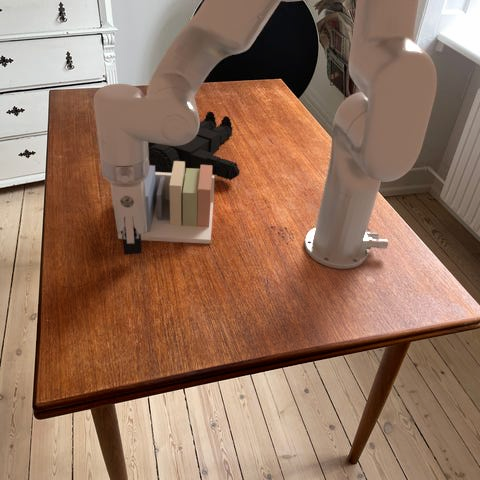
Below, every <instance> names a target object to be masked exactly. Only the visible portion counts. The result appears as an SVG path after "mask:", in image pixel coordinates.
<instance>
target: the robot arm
mask: <svg viewBox="0 0 480 480" xmlns="http://www.w3.org/2000/svg"><path fill="white" fill-rule="evenodd" d="M299 1H302V0H204V1H203V2H202V3H201V5H200V7H199V8H198V10H197V11H196V13H195V14H194V16H192V17H191V19H190V20H189V21H188V22H187V24H186V25H185V26H184V28H182V30H181V31H180V32H179V33H178V35H176V37H175V38H174V40H173V41H172V42H171V44H170V45H169V47H168V49H167V50H166V51H165V54H164V56H163V57H162V59H161V60H160V62H159V64H158V66H157V68H156V69H155V70H154V73H153V74H152V76H151V78H150V80H149V83H148V85H147V89H146V95H145V94H144V92H143V91H142V89H140V88H138V87H136V86H134V85H132V84H128V83H127V84H126V83H112V84H107V85H104V86H101V87H100V88H98V90H97V91H96V92H95V93H94V96H93V110H94V118H95V124H96V135H97V142H98V149H99V150H98V151H99V156H100V157H99V158H100V159H99V161H100V167H101V175H102V177H103V179H104V180H106V181H107V182H109V183H110V187H111V199H112V206H113V210H114V211H113V212H114V220H115V226H116V230H117V235H118V234H120V235H121V234H122V239H121V240H122V241H121V242H122V248H123V254H124V255H127V256H128V255H140V254H142V253H143V252H142V250H143V248H142V246H143V245H142V240H141V234H145V233H146V232H147V216H146V196H145V182H144V179H146V178H147V177H148V175H149V173H150V168H149V148H148V142H151V143H157V144H163V145H170V146H179V145H184V144H187V143H189V142H190V141H192V140H193V139H194V138H195V137H196V135H197V133H198V131H199V126H200V122H201V121H200V115H199V111H198V107H197V103H196V99H195V97H196V94H197V93H198V91H199V89H200V88H201V86H202V85H203V83H204V82H205V80H206V78H207V77H208V76H209V74H210V72H212V70H213V69H214V68H215V67H216V66H217V65H218V64H219V63H220V62H221V61H222V60H224V59H225V58H228V57H230V56H232V55H239V54H241V53H244V52H246V51H248V50H249V49H250V48H251V47H252V45H253V44H254V42H255V41H256V39H257V37H258V36H259V35H260V33H261V32H262V31H263V29H264V27H265V26H266V24H267V23H268V21H269V19H270V18H271V17H272V15H273V14H274V13H275V10H276V9H277V8H278V6H279V5H280V3H281V2H286V3H287V2H288V3H289V2H299ZM418 5H419V0H356V3H355V13H354V14H355V15H354V22H353V27H352V29H353V30H352V35H351V43H350V50H349V55H348V56H349V57H348V63H347V64H348V66H347V67H348V73H349V76H350V78H351V80H352V81H353V83H354V84H355V86H356V87H357V88H358V89H359V90H360V91H359V92H355V93H353V94H351V95H349V96H348V97H346V98H345V99H344V100H343V101H342V102H341V104H340V105H339V106H338V108H337V110H336V112H335V114H334V118H333V122H332V128H331V129H332V130H331V148H330V149H331V150H330V158H329V162H328V163H329V164H328V168H327V174H326V177H325V183H324V187H323V191H322V196H321V201H320V206H319V210H318V215H317V219H316V225H315V227H314V228H312V229H311V230H309V231H308V232H307V233H306V236H305V240H304V248H305V250H306V252H307V254H308V255H309V256H310V257H311V258H312V259H313V260H315V261H316V262H318V263H320V264H321V265H324V266H326V267H329V268H331V269H332V268H333V269H340V270H345V269H346V270H348V269H354V268H356V267H359V266H361V265H363V264H364V263H365V262H366V260H367V258H368V255H369V250H371V249H373V248H376V249H388V247H389V246H388V245H389V241H388V239H387V238H379V232H378V231H367V230H368V226H369V223H370V219H371V217H372V212H373V211H374V210H373V209H374V207H375V203H376V199H377V195H378V193H379V189H380V187H381V182H385V183H386V182H393V181H396V180H398V179H400V178H402V177H403V176H404V175H406V174H407V173H408V172H409V171H410V170H411V169H412V168H413V167H414V165H415V163H416V161H417V160H418V158H419V155H420V153H421V150H422V148H423V143H424V141H425V137H426V133H427V129H428V127H429V126H428V125H429V121H430V117H431V114H432V110H433V106H434V103H435V99H436V94H437V88H438V87H437V86H438V78H437V77H438V74H437V70H436V66H435V63H434V61H433V59H432V58H431V56H430V55H429V54H428V52H426V50H424V49H423V48H422V47H420V45H418V44H417V43H416V42H415V39H414V32H415V26H416V19H417V15H418V7H419V6H418ZM146 96H147V97H146Z"/></svg>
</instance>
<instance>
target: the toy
mask: <svg viewBox="0 0 480 480" xmlns="http://www.w3.org/2000/svg"><path fill="white" fill-rule="evenodd" d="M215 116H216V115H215V113H214V112H213V111H211V110H209V111H208V112H207V113H206V115H205V118H203V120H201V121H200V126H199V131H198V133H197V135H196V137H195V138H194V139H193V140H192V141H190V142H189V143H187V144H184V145H179V146H170V145H163V144H157V143H151V142H148V148H149V165H151V166H155V172H164V173H172V169H173V164H174V161H183V162H185V169H186V168H194V169H200V166H201V165H212V175H215V176H216V177H219V178H222V179H225V180H229V181H232V180H234V179H235V178H237V177H239V175H240V171H241V169H239V167H238V166H239V165H238V164H237V162H234V161H232V160H229V159H226V158H222V157H221V156H217V155H214V153H217V152H218V151H220V144H222V143H223V142H225V141H226V140H228V139H229V138H231V137H233V136H232V135H233V126H232V121H231V120H232V119H231V118H230V116H226V115H225V116H224V117H222V119H221V123H219V124H218V125H217V121H216V117H215Z"/></svg>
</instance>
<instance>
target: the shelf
mask: <svg viewBox="0 0 480 480" xmlns="http://www.w3.org/2000/svg"><path fill="white" fill-rule="evenodd" d="M215 176H216V175H213V174H212V165H201V166H200V169H194V168H185V162H183V161H174V164H173V169H172V173H164V172H155V178H156V205H155V210H154V215H153V220H152V225H151V230H150V232H146V233H145V234H141V241H148V242H149V241H150V242H151V241H154V242H155V241H156V242H170V243H189V244H192V243H193V244H206V245H207V244H211V242H212V228H213V227H212V225H213V214H214V213H213V211H214V198H215V197H214V195H215V194H214V193H215ZM117 238H118V240H122V234H121V235H120V234H118V233H117Z"/></svg>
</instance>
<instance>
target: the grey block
mask: <svg viewBox="0 0 480 480" xmlns="http://www.w3.org/2000/svg"><path fill="white" fill-rule="evenodd" d="M149 168H150V173H149V175H148V177H147V178H146V179H144V182H145V196H146V216H147V232H150V230H151V225H152V220H153V215H154V210H155V205H156V178H155V166H151V165H149Z"/></svg>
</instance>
